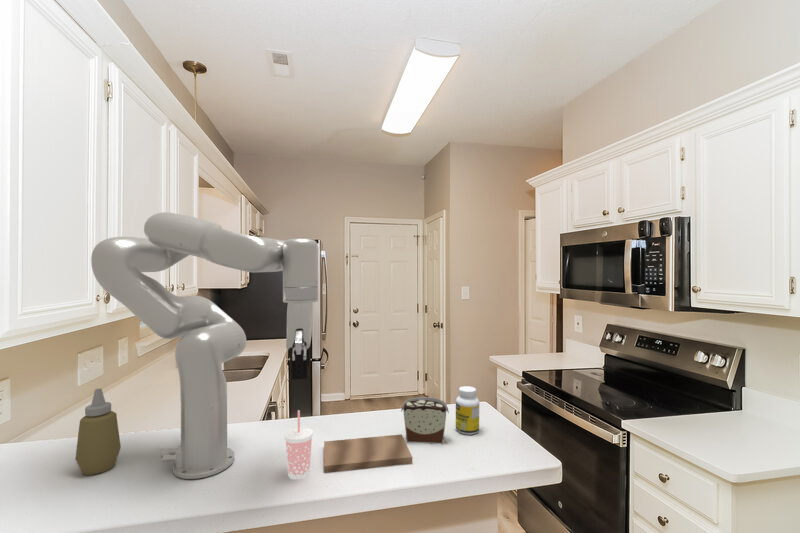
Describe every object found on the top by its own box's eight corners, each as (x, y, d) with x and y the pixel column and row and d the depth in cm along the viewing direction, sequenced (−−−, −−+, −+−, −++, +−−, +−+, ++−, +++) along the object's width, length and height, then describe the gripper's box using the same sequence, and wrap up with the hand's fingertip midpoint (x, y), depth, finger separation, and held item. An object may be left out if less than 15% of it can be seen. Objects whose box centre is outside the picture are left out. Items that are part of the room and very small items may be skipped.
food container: (448, 433, 104) (448, 397, 104) (448, 444, 98) (448, 405, 98) (403, 431, 105) (403, 395, 105) (401, 442, 99) (401, 403, 99)
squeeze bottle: (84, 463, 89) (83, 386, 89) (125, 457, 92) (125, 382, 91) (68, 481, 81) (67, 397, 81) (114, 474, 84) (113, 392, 84)
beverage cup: (285, 468, 86) (284, 406, 86) (312, 464, 88) (312, 404, 88) (283, 483, 80) (283, 417, 80) (313, 479, 82) (313, 414, 82)
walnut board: (324, 472, 84) (324, 466, 84) (324, 447, 96) (324, 441, 96) (412, 463, 88) (412, 457, 88) (401, 440, 100) (401, 434, 100)
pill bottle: (451, 427, 108) (451, 386, 108) (472, 424, 110) (472, 384, 110) (462, 437, 102) (462, 393, 102) (483, 433, 104) (483, 391, 104)
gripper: (286, 292, 92) (286, 363, 92) (278, 298, 75) (278, 385, 75) (318, 291, 93) (318, 361, 93) (317, 298, 76) (317, 383, 77)
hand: (300, 372), depth 84 cm, fingers open, 9 cm apart
